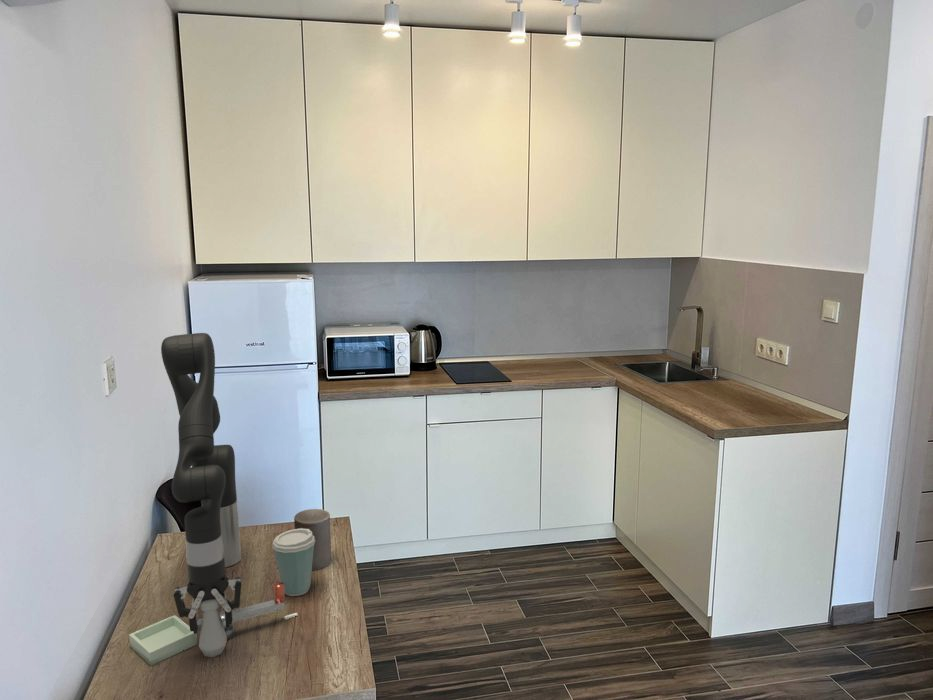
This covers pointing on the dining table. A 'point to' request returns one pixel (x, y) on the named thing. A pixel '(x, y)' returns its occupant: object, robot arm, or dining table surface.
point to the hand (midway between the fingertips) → (211, 628)
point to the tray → (162, 639)
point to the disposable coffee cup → (294, 560)
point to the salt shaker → (211, 629)
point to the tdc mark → (290, 616)
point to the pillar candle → (317, 534)
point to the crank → (256, 608)
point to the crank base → (230, 633)
